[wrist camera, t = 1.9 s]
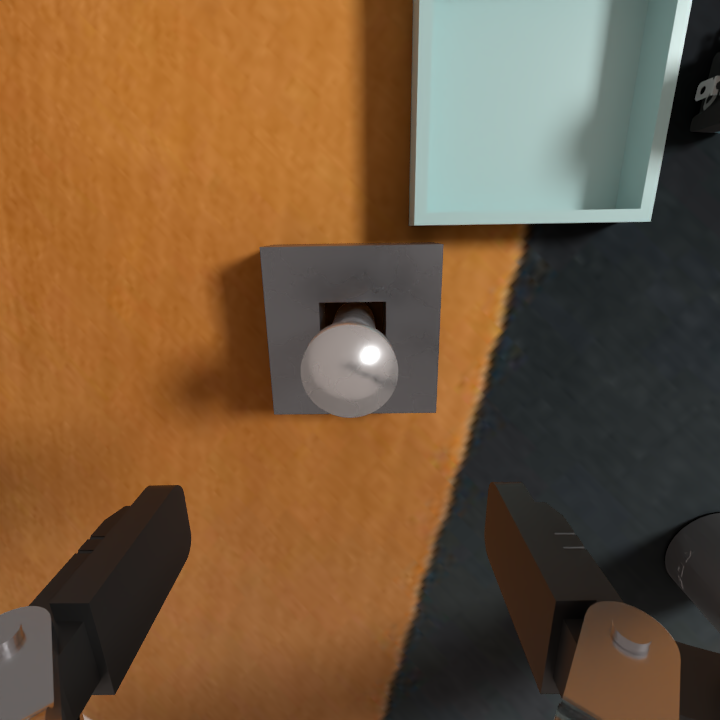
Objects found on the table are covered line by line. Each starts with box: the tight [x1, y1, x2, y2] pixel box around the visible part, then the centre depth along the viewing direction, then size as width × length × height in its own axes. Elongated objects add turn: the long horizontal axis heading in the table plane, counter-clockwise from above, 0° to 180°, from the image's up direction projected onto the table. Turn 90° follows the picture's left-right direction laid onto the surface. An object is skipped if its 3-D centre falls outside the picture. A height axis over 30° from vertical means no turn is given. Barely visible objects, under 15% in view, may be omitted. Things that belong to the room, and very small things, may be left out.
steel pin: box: [301, 302, 398, 418], centre depth 27 cm, size 5×5×12 cm
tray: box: [409, 0, 692, 226], centre depth 26 cm, size 16×16×4 cm
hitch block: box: [260, 242, 443, 414], centre depth 31 cm, size 12×12×4 cm
